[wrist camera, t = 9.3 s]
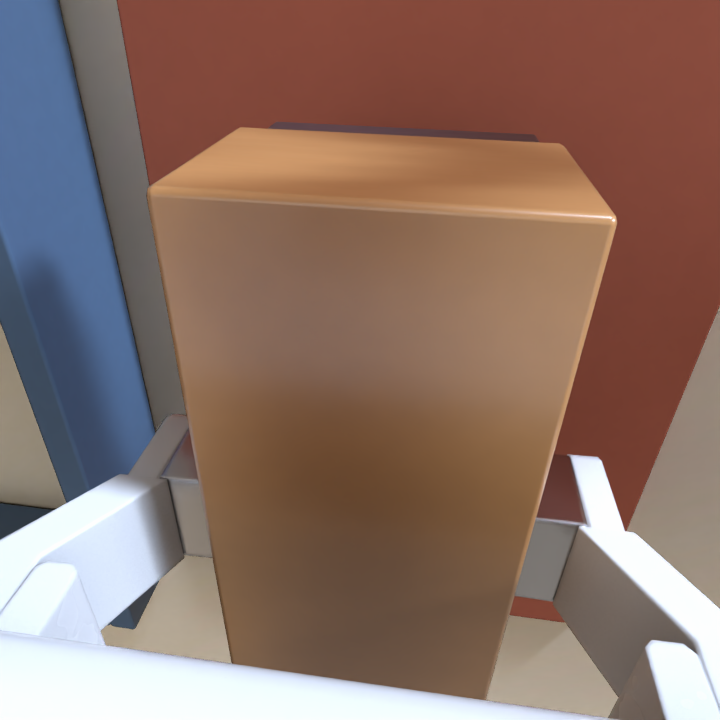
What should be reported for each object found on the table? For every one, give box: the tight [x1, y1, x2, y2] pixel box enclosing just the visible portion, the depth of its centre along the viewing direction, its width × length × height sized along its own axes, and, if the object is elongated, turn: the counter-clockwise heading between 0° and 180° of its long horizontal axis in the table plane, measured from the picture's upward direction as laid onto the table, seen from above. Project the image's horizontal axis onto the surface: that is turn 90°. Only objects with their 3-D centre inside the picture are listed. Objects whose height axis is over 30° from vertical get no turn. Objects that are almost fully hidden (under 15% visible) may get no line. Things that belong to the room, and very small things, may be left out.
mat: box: [117, 0, 720, 622], centre depth 14 cm, size 13×22×1 cm, turn 179°
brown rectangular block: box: [147, 122, 617, 700], centre depth 10 cm, size 4×11×4 cm, turn 179°
